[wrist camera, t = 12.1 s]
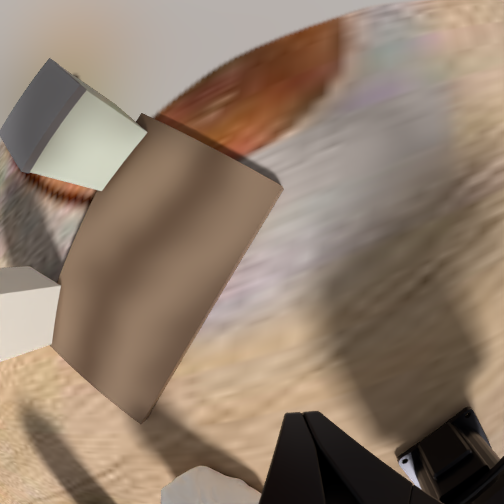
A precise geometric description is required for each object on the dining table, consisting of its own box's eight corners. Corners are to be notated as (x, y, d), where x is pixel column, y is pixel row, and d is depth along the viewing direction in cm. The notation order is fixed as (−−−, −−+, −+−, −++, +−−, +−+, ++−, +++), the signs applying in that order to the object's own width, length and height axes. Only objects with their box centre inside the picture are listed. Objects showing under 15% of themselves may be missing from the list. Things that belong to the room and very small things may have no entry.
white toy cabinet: (61, 285, 21) (-18, 296, 13) (51, 347, 21) (-19, 371, 14) (29, 265, 21) (-45, 269, 14) (21, 323, 22) (-47, 340, 14)
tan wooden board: (283, 189, 19) (282, 186, 18) (146, 418, 21) (141, 424, 20) (147, 117, 21) (141, 112, 20) (47, 332, 23) (39, 334, 22)
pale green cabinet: (148, 132, 19) (80, 85, 12) (100, 194, 20) (19, 174, 13) (115, 103, 20) (49, 57, 12) (71, 161, 20) (-4, 135, 13)
